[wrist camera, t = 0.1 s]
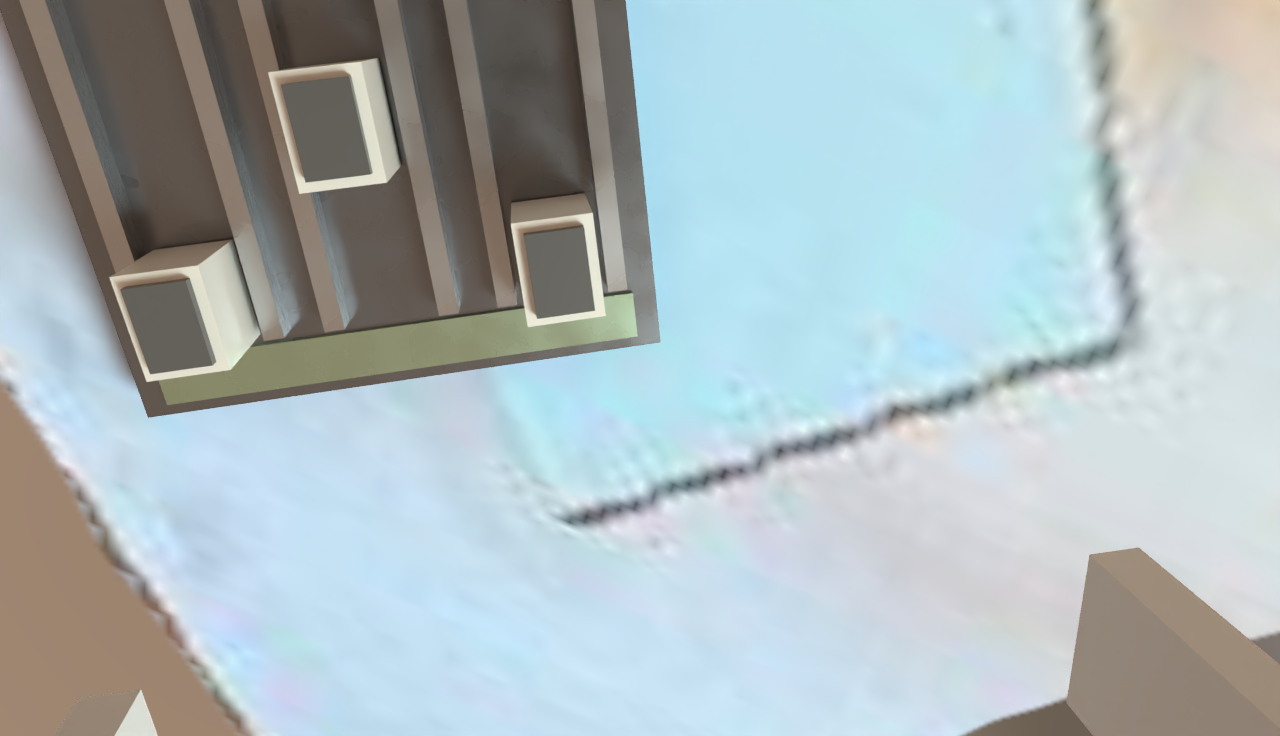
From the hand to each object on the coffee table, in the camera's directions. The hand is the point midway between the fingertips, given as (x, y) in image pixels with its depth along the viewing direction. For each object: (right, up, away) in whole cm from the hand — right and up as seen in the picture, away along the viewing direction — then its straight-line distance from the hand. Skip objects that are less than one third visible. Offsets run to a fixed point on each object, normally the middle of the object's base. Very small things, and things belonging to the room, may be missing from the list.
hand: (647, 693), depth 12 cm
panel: (-11, +14, +23) cm, 29 cm away
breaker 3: (-4, +10, +23) cm, 26 cm away
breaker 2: (-11, +14, +21) cm, 27 cm away
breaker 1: (-17, +8, +22) cm, 29 cm away
